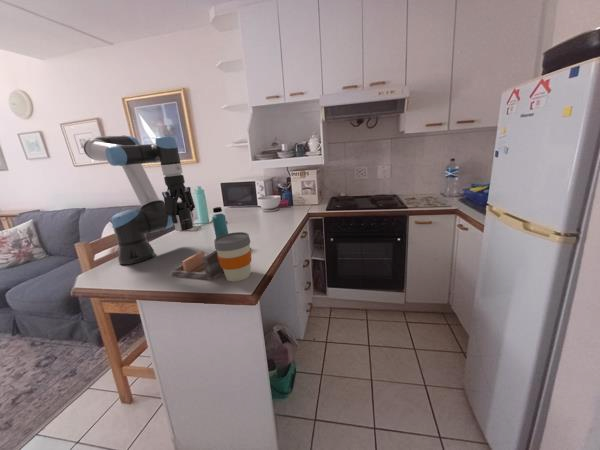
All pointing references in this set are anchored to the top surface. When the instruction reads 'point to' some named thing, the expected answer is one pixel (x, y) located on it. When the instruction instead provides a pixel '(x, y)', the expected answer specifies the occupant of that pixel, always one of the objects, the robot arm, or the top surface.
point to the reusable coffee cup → (234, 255)
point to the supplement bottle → (184, 216)
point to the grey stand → (202, 269)
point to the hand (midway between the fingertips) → (185, 227)
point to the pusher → (193, 261)
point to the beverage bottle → (219, 222)
